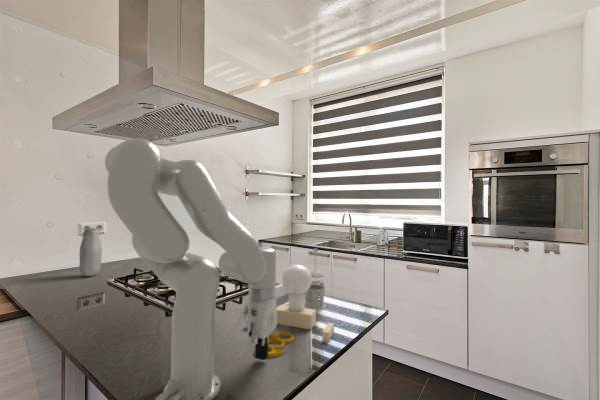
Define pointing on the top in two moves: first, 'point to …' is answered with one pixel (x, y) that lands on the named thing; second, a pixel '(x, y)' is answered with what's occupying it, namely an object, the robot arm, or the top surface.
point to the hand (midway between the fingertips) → (261, 357)
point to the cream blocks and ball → (299, 302)
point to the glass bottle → (90, 252)
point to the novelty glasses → (277, 349)
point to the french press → (315, 291)
